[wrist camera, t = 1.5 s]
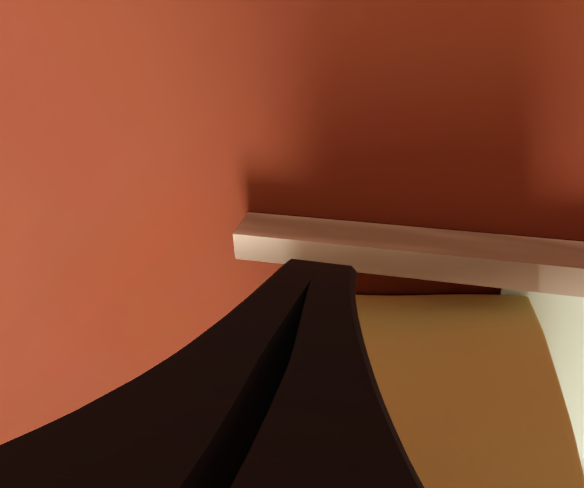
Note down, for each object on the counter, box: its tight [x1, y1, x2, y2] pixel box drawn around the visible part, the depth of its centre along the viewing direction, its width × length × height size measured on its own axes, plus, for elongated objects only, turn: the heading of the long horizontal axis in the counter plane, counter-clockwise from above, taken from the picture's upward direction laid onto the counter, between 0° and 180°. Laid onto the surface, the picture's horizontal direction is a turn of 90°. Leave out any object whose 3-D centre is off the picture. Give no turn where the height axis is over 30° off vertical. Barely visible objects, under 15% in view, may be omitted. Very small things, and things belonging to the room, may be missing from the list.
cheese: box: [355, 294, 584, 488], centre depth 19 cm, size 10×11×10 cm
